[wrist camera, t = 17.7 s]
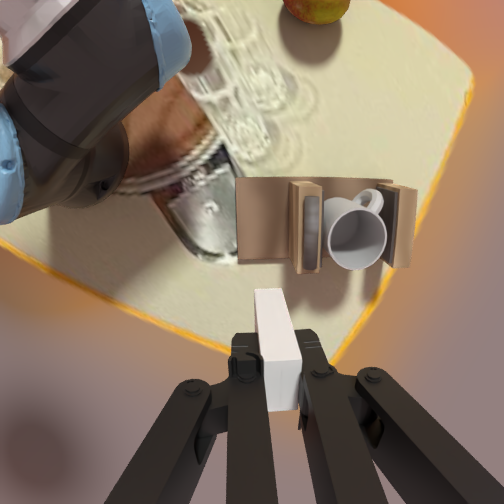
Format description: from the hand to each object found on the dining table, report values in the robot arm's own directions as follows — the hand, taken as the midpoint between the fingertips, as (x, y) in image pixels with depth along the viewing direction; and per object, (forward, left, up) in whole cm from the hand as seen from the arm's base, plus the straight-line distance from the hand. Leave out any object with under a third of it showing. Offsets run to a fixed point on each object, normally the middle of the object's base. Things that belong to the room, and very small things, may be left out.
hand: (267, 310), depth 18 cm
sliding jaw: (+6, 0, -25) cm, 26 cm away
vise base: (+9, 0, -26) cm, 28 cm away
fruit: (+9, +32, -27) cm, 42 cm away
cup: (+12, +1, -26) cm, 28 cm away
